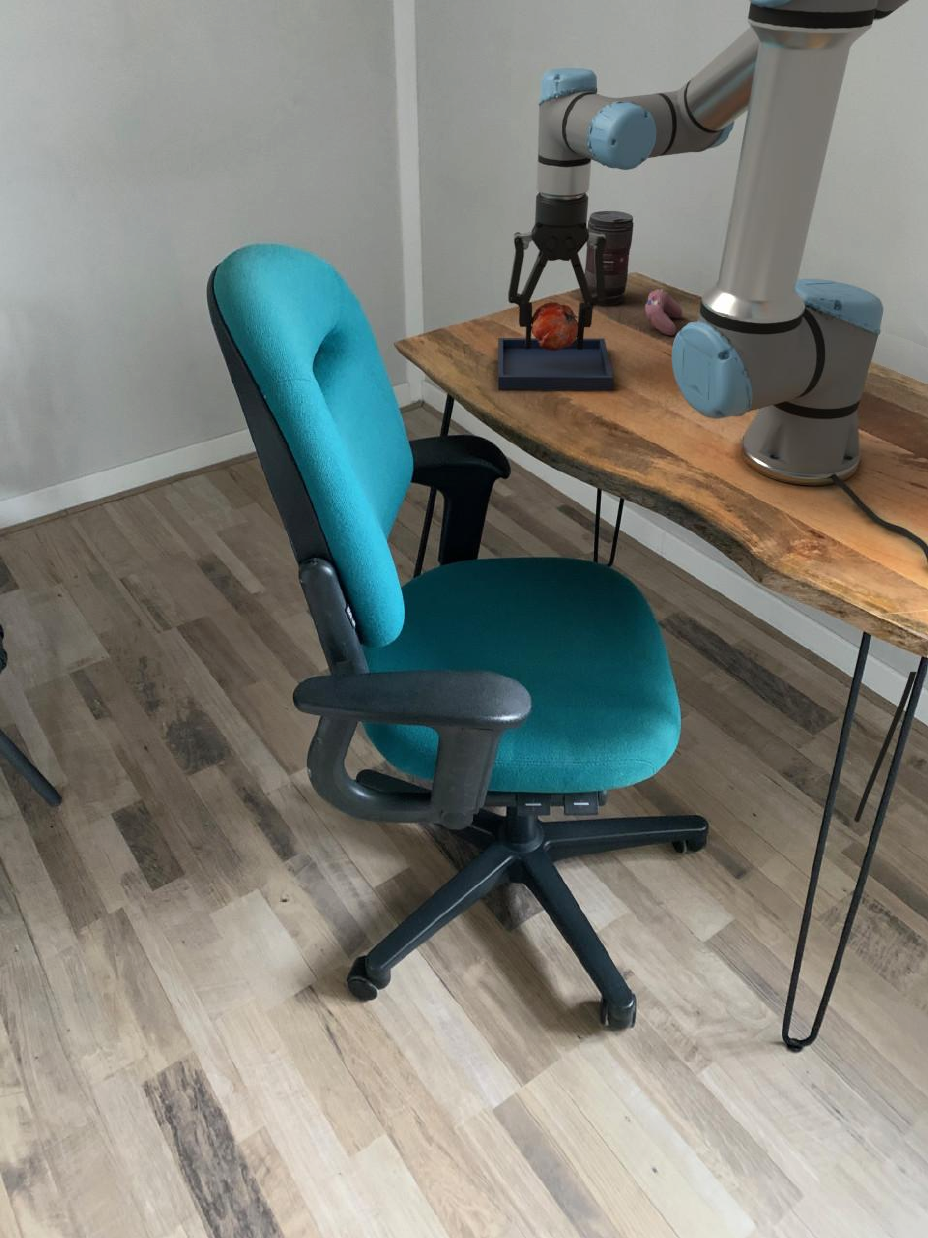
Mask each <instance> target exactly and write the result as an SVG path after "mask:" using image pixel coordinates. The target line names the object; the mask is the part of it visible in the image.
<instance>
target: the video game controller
mask: <svg viewBox="0 0 928 1238" xmlns="http://www.w3.org/2000/svg"><path fill="white" fill-rule="evenodd" d="M644 311H645V314H646V318H647V319H648V322H649V323H650V324H652V326H653V327H654V329H655V330H658V331H659V332H660V333H662V334H664V335H665V336H670V337H671V336H674V335H675V334H677V333H676V332H677V326H676V324H675V323H674V321H672V319H670V318H673V319H680V318H682V316H683V309H682V307H681V306H680V305H679V304H678V302H676V300H674V299H673V298H672V297H671V295H670V293H668V292H667V290H665V289H664V288H661V290H660V289H655V290H652V291H651V292H650V293H649V294H648V297H647V303H646V304H645V305H644ZM669 317H670V318H669Z"/></svg>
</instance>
